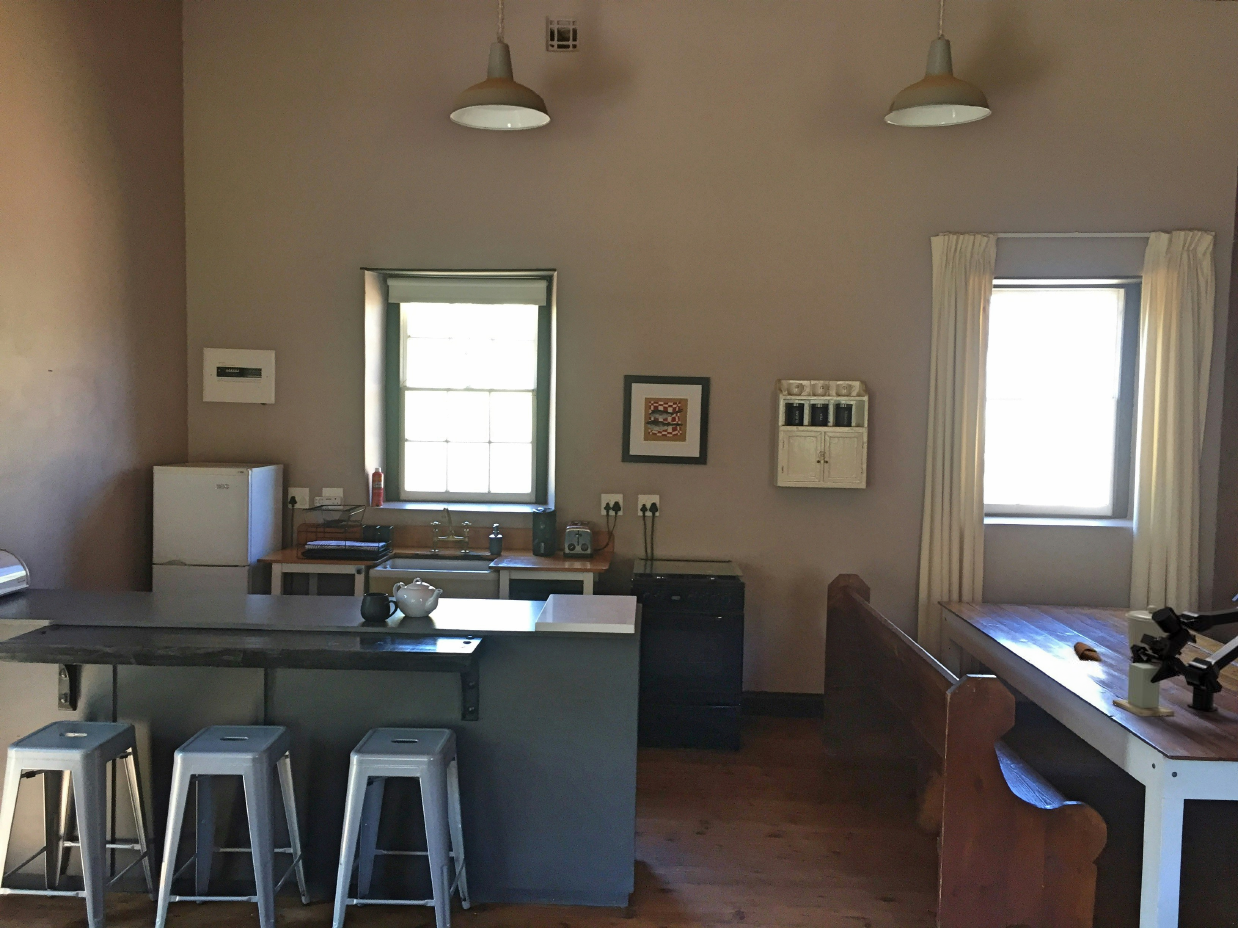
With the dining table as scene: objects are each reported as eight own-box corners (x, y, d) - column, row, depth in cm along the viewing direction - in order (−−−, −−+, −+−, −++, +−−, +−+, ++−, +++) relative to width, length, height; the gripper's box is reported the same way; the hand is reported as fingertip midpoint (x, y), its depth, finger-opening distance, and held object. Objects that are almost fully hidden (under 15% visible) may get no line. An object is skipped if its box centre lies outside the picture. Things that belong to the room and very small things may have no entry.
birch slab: (1145, 705, 288) (1145, 698, 288) (1174, 717, 277) (1174, 710, 276) (1112, 705, 287) (1112, 699, 286) (1139, 718, 275) (1139, 711, 275)
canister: (1184, 666, 337) (1187, 611, 336) (1132, 662, 341) (1135, 608, 340) (1165, 655, 355) (1168, 602, 354) (1116, 651, 358) (1119, 599, 358)
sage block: (1144, 701, 285) (1145, 662, 284) (1158, 707, 279) (1160, 667, 278) (1127, 702, 284) (1129, 663, 283) (1141, 707, 278) (1143, 668, 277)
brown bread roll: (1104, 661, 341) (1095, 646, 342) (1086, 669, 343) (1077, 653, 344) (1096, 651, 358) (1087, 636, 358) (1079, 658, 360) (1070, 643, 361)
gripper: (1136, 619, 290) (1104, 653, 289) (1181, 632, 272) (1147, 668, 270) (1156, 642, 292) (1124, 676, 291) (1202, 657, 273) (1169, 693, 272)
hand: (1140, 678), depth 281 cm, fingers open, 9 cm apart
